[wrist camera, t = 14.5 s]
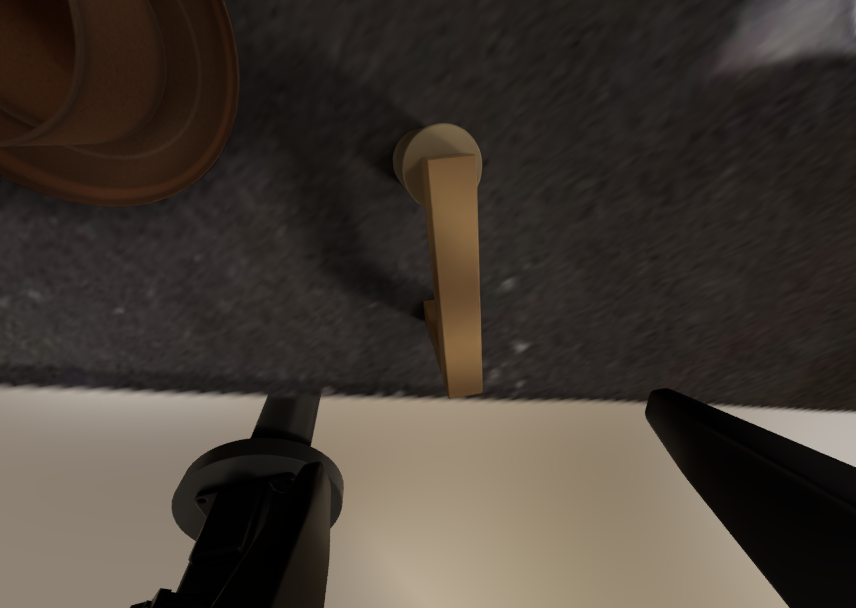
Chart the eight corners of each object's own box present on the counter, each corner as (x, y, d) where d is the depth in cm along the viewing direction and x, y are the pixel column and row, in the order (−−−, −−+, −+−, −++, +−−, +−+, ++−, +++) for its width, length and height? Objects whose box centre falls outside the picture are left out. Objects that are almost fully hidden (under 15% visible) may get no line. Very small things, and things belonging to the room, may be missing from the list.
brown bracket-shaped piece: (459, 316, 21) (497, 390, 15) (414, 324, 21) (433, 402, 15) (448, 125, 16) (498, 115, 10) (388, 132, 16) (400, 125, 10)
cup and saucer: (-81, -343, 9) (-776, -1091, 4) (308, 32, 14) (267, -41, 8) (-165, 54, 12) (-614, -20, 6) (179, 249, 17) (86, 300, 11)
